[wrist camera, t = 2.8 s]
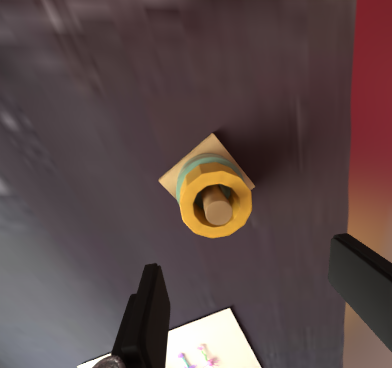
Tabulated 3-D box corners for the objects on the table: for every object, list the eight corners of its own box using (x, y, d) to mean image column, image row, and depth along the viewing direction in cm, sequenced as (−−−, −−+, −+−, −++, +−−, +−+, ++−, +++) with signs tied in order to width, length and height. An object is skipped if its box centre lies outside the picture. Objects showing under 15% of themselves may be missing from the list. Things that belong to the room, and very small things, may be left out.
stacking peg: (159, 178, 25) (145, 209, 16) (211, 132, 24) (228, 139, 15) (202, 223, 28) (211, 271, 19) (253, 184, 26) (288, 216, 17)
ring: (186, 222, 23) (186, 242, 19) (176, 167, 21) (174, 178, 17) (242, 213, 23) (253, 231, 19) (237, 158, 21) (249, 166, 17)
